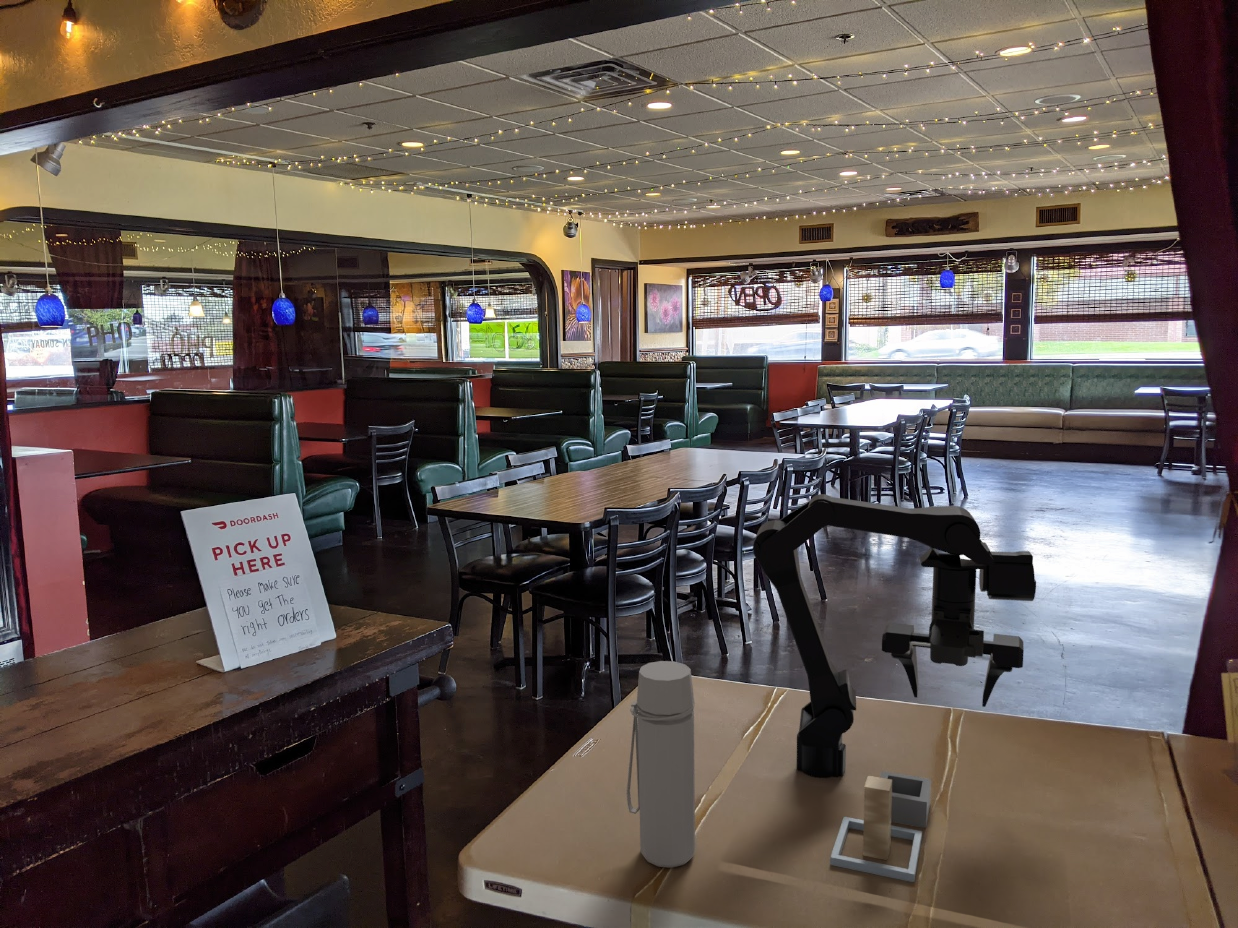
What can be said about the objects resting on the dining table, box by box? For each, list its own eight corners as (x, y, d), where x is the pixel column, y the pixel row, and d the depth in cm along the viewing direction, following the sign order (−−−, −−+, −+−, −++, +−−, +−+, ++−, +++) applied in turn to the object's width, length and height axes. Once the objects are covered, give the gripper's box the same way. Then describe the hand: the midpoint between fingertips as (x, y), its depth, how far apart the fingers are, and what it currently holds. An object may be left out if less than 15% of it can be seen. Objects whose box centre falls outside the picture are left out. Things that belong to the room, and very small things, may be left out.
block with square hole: (874, 823, 125) (875, 793, 124) (881, 800, 131) (881, 770, 130) (925, 833, 123) (926, 802, 122) (929, 808, 129) (930, 778, 128)
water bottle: (705, 844, 121) (703, 663, 117) (683, 877, 114) (681, 686, 110) (640, 829, 125) (637, 654, 121) (616, 860, 118) (611, 675, 114)
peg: (862, 856, 117) (864, 786, 115) (866, 843, 120) (868, 775, 118) (887, 861, 116) (889, 790, 114) (890, 848, 118) (892, 779, 117)
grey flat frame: (830, 870, 115) (830, 856, 115) (843, 828, 124) (844, 816, 124) (913, 887, 111) (914, 874, 111) (921, 843, 120) (921, 831, 120)
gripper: (877, 606, 127) (875, 714, 129) (1026, 621, 119) (1020, 734, 122) (888, 584, 137) (885, 684, 139) (1025, 597, 130) (1019, 702, 132)
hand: (949, 701), depth 133 cm, fingers open, 9 cm apart
